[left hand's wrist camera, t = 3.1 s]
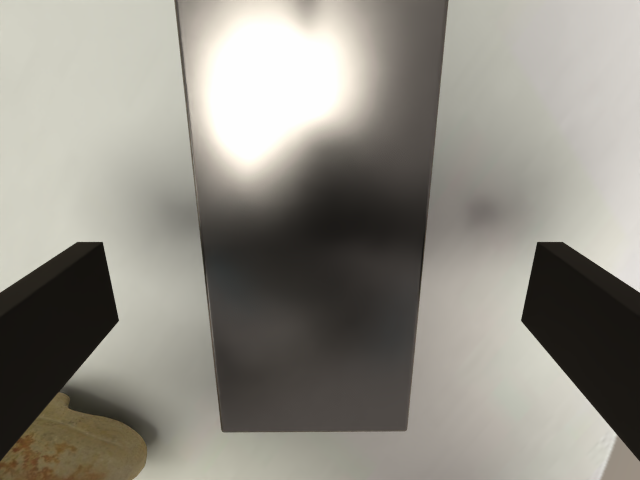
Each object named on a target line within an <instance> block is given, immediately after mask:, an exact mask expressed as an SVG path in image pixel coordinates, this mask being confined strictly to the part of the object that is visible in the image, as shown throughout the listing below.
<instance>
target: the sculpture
mask: <svg viewBox="0 0 640 480" xmlns="http://www.w3.org/2000/svg"><path fill="white" fill-rule="evenodd" d="M69 402H70V398H69V396H67V395H66V394H64V393H60V392H58V393H57V395H56V396H55V397H54V398H53V399H52V401H51V402H50V403H49V404H48V405H47V407H46V408H45V409H44V410H43V411H42V412H41V414H40V415H39V416H38V417H37V418H36V420H35V421H34V422H33V423H32V424H31V425H30V427H29V428H28V429H27V430H26V431H25V433H24V434H23V435H22V436H21V437H20V439H19V440H18V441H17V442H16V443H15V444H14V446H13V447H12V448H11V449H10V450H9V452H8V453H7V454H6V455H5V456H4V457H3V459H2V460H1V461H0V480H132V479H134V478H135V477H136V476H137V475H138V474H139V473H140V471H141V470H142V469H143V468H144V466H145V463H146V457H147V447H146V444H145V442H144V440H143V438H142V437H141V436H140V435H139V434H138V433H137V432H136V431H135V430H133V429H132V428H130V427H129V426H128V425H126V424H124V423H122V422H120V421H117V420H114V419H111V418H107V417H103V416H97V415H91V414H85V413H82V412H77V411H73V410H71V409H69V408H68V406H69Z"/></svg>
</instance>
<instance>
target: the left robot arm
mask: <svg viewBox="0 0 640 480" xmlns="http://www.w3.org/2000/svg"><path fill="white" fill-rule="evenodd" d="M118 321H119V319H118V314H117V309H116V304H115V299H114V295H113V290H112V285H111V280H110V275H109V270H108V266H107V261H106V256H105V251H104V246H103V242H77V243H75V244H74V245H72V246H71V247H69V248H68V249H66V250H65V251H63V252H61V253H60V254H58V255H57V256H55V257H54V258H52V259H51V260H49V261H48V262H46V263H45V264H43V265H42V266H40V267H39V268H37V269H36V270H34V271H33V272H31V273H30V274H28V275H26V276H25V277H23V278H22V279H20V280H19V281H17V282H16V283H14V284H13V285H11V286H10V287H8V288H7V289H5V290H4V291H2V292H1V293H0V461H1V460H2V459H3V457H4V456H5V455H6V454H7V453H8V452H9V450H10V449H11V448H12V447H13V446H14V444H15V443H16V442H17V441H18V440H19V439H20V437H21V436H22V435H23V434H24V433H25V431H26V430H27V429H28V428H29V427H30V425H31V424H32V423H33V422H34V421H35V420H36V418H37V417H38V416H39V415H40V414H41V412H42V411H43V410H44V409H45V408H46V407H47V405H48V404H49V403H50V402H51V401H52V399H53V398H54V397H55V396H56V395H57V393H58V392H59V391H60V390H61V389H62V388H63V386H64V385H65V384H66V383H67V382H68V380H69V379H70V378H71V377H72V376H73V375H74V373H75V372H76V371H77V370H78V369H79V367H80V366H81V365H82V364H83V363H84V362H85V360H86V359H87V358H88V357H89V356H90V354H91V353H92V352H93V351H94V350H95V348H96V347H97V346H98V345H99V344H100V343H101V341H102V340H103V339H104V338H105V337H106V335H107V334H108V333H109V332H110V331H111V330H112V328H113V327H114V326H115V325H116V324H117V322H118ZM521 321H522V322H523V324H524V325H525V326H526V327H527V328H528V330H529V331H530V332H531V333H532V334H533V335H534V337H535V338H536V339H537V340H538V341H539V343H540V344H541V345H542V346H543V347H544V348H545V350H546V351H547V352H548V353H549V354H550V356H551V357H552V358H553V359H554V360H555V362H556V363H557V364H558V365H559V366H560V367H561V369H562V370H563V371H564V372H565V373H566V375H567V376H568V377H569V378H570V379H571V380H572V382H573V383H574V384H575V385H576V386H577V388H578V389H579V390H580V391H581V392H582V393H583V395H584V396H585V397H586V398H587V399H588V401H589V402H590V403H591V404H592V405H593V407H594V408H595V409H596V410H597V411H598V412H599V414H600V415H601V416H602V417H603V418H604V420H605V421H606V422H607V423H608V424H609V425H610V427H611V428H612V429H613V430H614V431H615V433H616V434H617V435H618V436H619V437H620V438H621V440H622V441H623V442H624V443H625V444H626V446H627V447H628V448H629V449H630V450H631V451H632V453H633V454H634V455H635V456H636V457H637V459H638V460H639V461H640V293H639V292H638V291H636V290H635V289H633V288H632V287H630V286H629V285H627V284H626V283H624V282H623V281H621V280H620V279H618V278H617V277H615V276H614V275H612V274H610V273H609V272H607V271H606V270H604V269H603V268H601V267H600V266H598V265H597V264H595V263H594V262H592V261H591V260H589V259H588V258H586V257H585V256H583V255H582V254H580V253H579V252H577V251H575V250H574V249H572V248H571V247H569V246H568V245H566V244H565V243H563V242H537V246H536V251H535V256H534V261H533V266H532V270H531V275H530V280H529V285H528V290H527V295H526V299H525V304H524V309H523V314H522V319H521Z"/></svg>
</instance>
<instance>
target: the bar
mask: <svg viewBox="0 0 640 480" xmlns="http://www.w3.org/2000/svg"><path fill="white" fill-rule="evenodd" d="M174 1H175V10H176V19H177V29H178V38H179V47H180V56H181V65H182V74H183V83H184V93H185V102H186V111H187V120H188V129H189V138H190V147H191V157H192V166H193V175H194V184H195V193H196V202H197V211H198V220H199V230H200V239H201V248H202V257H203V266H204V275H205V284H206V294H207V303H208V312H209V321H210V330H211V339H212V348H213V358H214V367H215V376H216V385H217V394H218V403H219V412H220V422H221V430H222V432H358V431H406V430H407V425H408V415H409V404H410V394H411V383H412V373H413V363H414V352H415V342H416V332H417V321H418V311H419V301H420V290H421V280H422V269H423V259H424V249H425V238H426V228H427V218H428V207H429V197H430V187H431V176H432V166H433V155H434V145H435V135H436V124H437V114H438V104H439V93H440V83H441V73H442V62H443V52H444V41H445V31H446V21H447V10H448V0H174Z"/></svg>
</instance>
